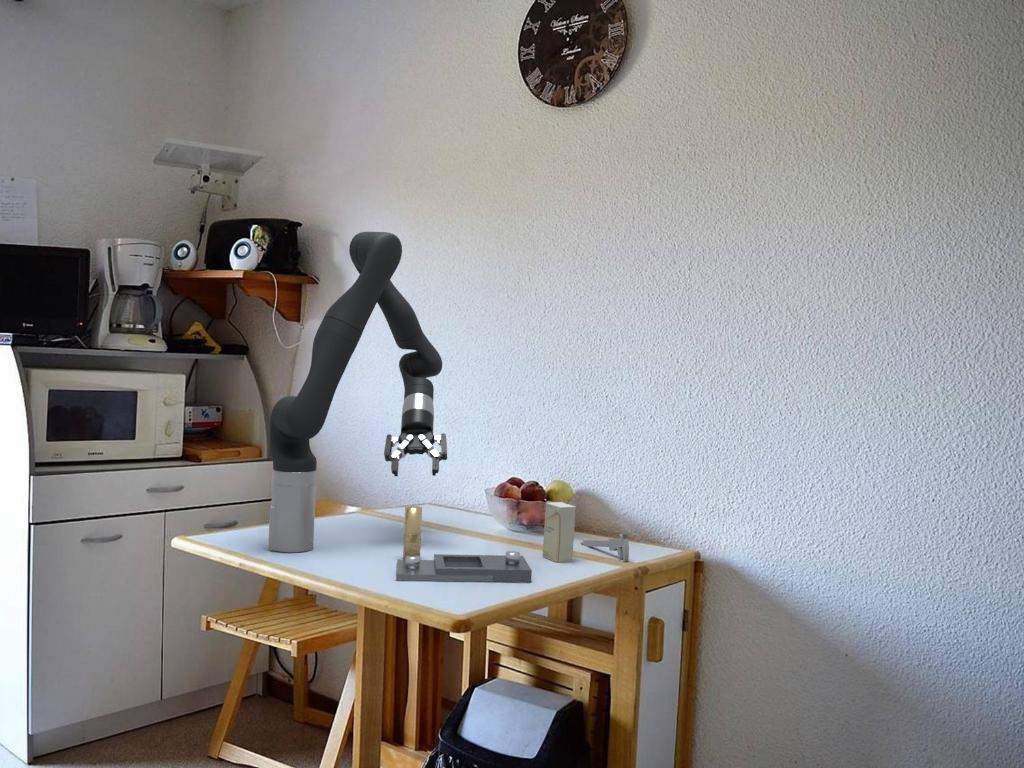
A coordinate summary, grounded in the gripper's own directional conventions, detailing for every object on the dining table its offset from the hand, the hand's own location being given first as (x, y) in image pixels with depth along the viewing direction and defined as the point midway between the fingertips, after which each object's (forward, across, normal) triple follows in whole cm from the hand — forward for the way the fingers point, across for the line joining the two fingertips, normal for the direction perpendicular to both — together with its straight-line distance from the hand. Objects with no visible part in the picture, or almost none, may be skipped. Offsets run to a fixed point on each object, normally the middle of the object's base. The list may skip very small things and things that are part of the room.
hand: (414, 474), depth 199 cm
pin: (+20, 0, +3) cm, 20 cm away
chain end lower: (+28, +7, -6) cm, 29 cm away
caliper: (+12, +42, +16) cm, 47 cm away
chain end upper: (+28, +15, -5) cm, 32 cm away
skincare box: (+18, +31, +9) cm, 37 cm away
